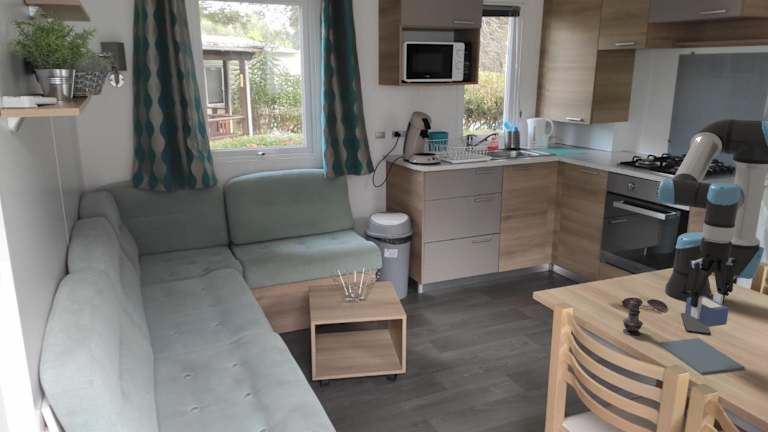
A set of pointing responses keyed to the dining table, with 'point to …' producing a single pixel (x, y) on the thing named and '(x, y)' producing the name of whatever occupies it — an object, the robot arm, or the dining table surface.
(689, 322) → the smartphone
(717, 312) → the card deck
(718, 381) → the dining table surface
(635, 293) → the dining table surface
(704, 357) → the mat
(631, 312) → the salt shaker
